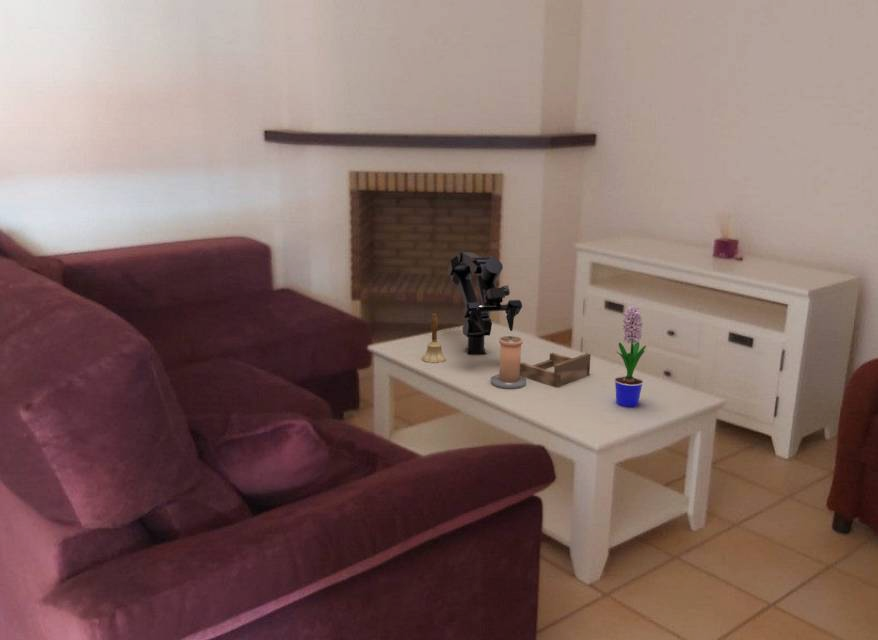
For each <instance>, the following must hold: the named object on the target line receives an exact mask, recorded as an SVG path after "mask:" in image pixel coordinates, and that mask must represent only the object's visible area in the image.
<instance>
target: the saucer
mask: <svg viewBox="0 0 878 640" xmlns="http://www.w3.org/2000/svg"><path fill="white" fill-rule="evenodd" d="M490 384H491V386H493V387H496V388H498V389H504V390H517V389H522V388H524V387H526V386H527V378H526V377H523V376H520V380H519V381H518V382H514V383H507V382H503V381H500V380H499V374H495V375H493V376H491V378H490Z"/></svg>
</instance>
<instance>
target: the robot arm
mask: <svg viewBox="0 0 878 640" xmlns="http://www.w3.org/2000/svg"><path fill="white" fill-rule="evenodd" d="M503 267H504V266H503V263H502V262H501V261H500V260H498V259H496V257H495V256H493V255H491V256H490V255H489V256H480V255H478V254H476V253H474V252H473V251H471V250H459V251H458V252H457V254H456V256H454V257H453V258H452V259H451V260H450V261H449V264H448V266H447V274H448V276H450V279H451V282H453V283H454V284H455V285H457V287H458V289H459V292H460V295H461V298H462V301H463V304H464V308H463V310H462V314H463V317H464V319H465V321H464V324H463V326H462V334H463V335H464V336H465V337H466V338H467V347H465V349H466V350H465V351H466V354H467V355H486V354H487V352H486V348H485V338H486V337H485V336H490V335H491V334H492V333H491V331H492V326H493V322H492V319H491V318H490V315H489V313H488V312H505V313H506V322H507V325H508V329H509V331H510V332H512V331H513V328H514V321H515V320H514V319H515V317H516V316H517V315H519V313H520V311H521V310H522V308H523V303H522V301H521V300H520V299H510V300H508V302H507V303H506V304H501V303H503V301H504V298H505V297H507V296H510V293H511V292H510V288H509V285H508V284H506V285H502V286H500V287H497V285H496V282H497V281H498V279H499V277H500V275H501V273H502V271H503V269H504V268H503ZM472 275H478V276H477V278H476V286H477V287H478V292H479V295H480V296H479V301H481V303H482V305H480V302H479V301H478V297H477V295H476V291H475V289H474V286H473V284H472V280H471V279H472V277H473V276H472Z"/></svg>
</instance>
